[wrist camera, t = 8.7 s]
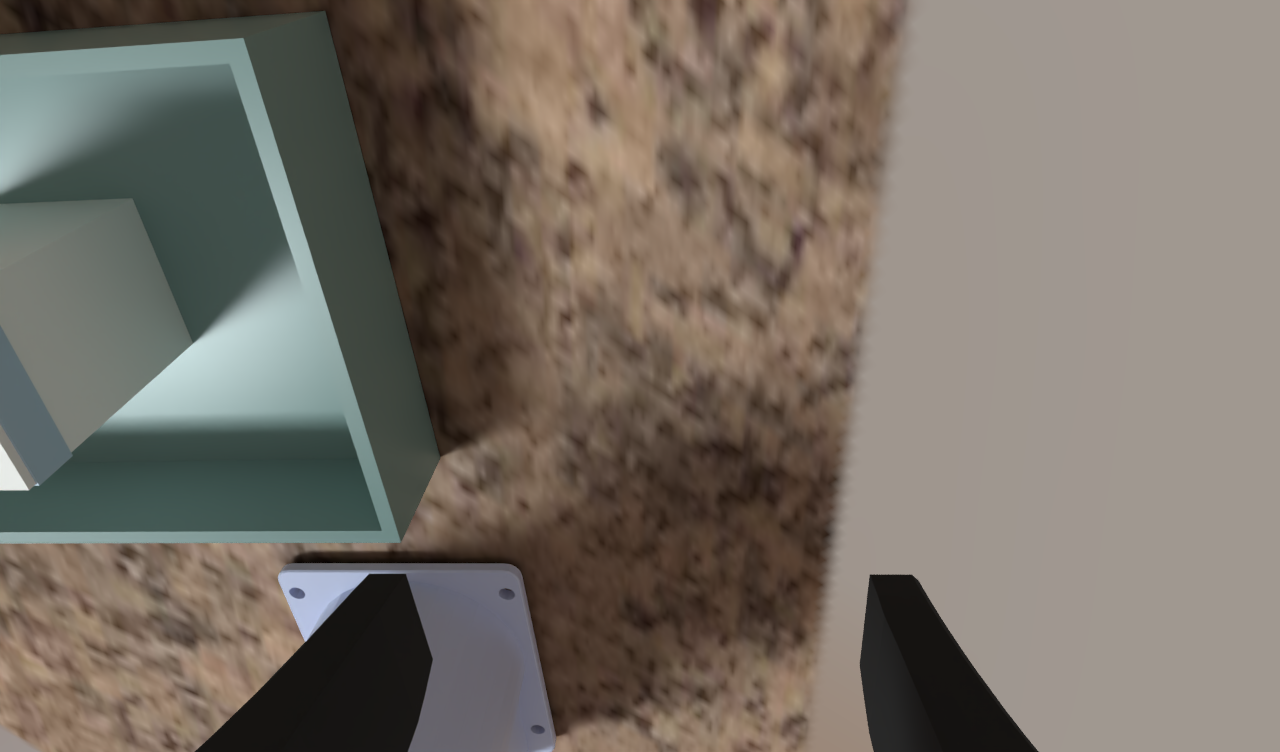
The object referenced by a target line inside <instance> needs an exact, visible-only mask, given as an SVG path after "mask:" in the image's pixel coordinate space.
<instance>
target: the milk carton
mask: <svg viewBox="0 0 1280 752" xmlns="http://www.w3.org/2000/svg"><path fill="white" fill-rule="evenodd" d="M192 344H193V342H192V340H191V337H190V335H189V333H188V330H187V328H186V325H185V323H184V321H183V318H182V316H181V313H180V311H179V309H178V306H177V304H176V301H175V299H174V297H173V294H172V292H171V289H170V287H169V285H168V282H167V280H166V278H165V275H164V273H163V270H162V268H161V266H160V263H159V261H158V258H157V256H156V254H155V251H154V249H153V246H152V244H151V242H150V239H149V237H148V234H147V232H146V230H145V227H144V225H143V222H142V220H141V218H140V215H139V213H138V211H137V208H136V206H135V203H134V201H133V199H132V198H125V199H102V200H79V201H56V202H33V203H11V204H0V490H30V489H31V488H32V487H33V486H40V485H41V484H42V483H43V482H44V481H45V480H47V479H48V478H49V477H50V476H51V475H52V474H53V473H54V472H55V471H57V470H58V469H59V468H60V467H61V466H62V465H63V464H64V463H65V462H67V461H68V460H69V459H70V458H71V457H72V456H73V455H72V453H71V452H72V451H74V450H75V449H76V448H77V447H78V446H79V445H80V444H81V443H83V442H84V441H85V440H86V439H87V438H88V437H89V436H90V435H91V434H93V433H94V432H95V431H96V430H97V429H98V428H99V427H100V426H102V425H103V424H104V423H105V422H106V421H107V420H108V419H109V418H110V417H112V416H113V415H114V414H115V413H116V412H117V411H118V410H119V409H121V408H122V407H123V406H124V405H125V404H126V403H127V402H128V401H129V400H131V399H132V398H133V397H134V396H135V395H136V394H137V393H138V392H140V391H141V390H142V389H143V388H144V387H145V386H146V385H147V384H148V383H150V382H151V381H152V380H153V379H154V378H155V377H156V376H157V375H159V374H160V373H161V372H162V371H163V370H164V369H165V368H166V367H167V366H169V365H170V364H171V363H172V362H173V361H174V360H175V359H176V358H178V357H179V356H180V355H181V354H182V353H183V352H184V351H185V350H187V349H188V348H189V347H190V346H191V345H192Z"/></svg>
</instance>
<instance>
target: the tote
mask: <svg viewBox="0 0 1280 752" xmlns="http://www.w3.org/2000/svg"><path fill="white" fill-rule="evenodd" d="M125 198H132V199H133V201H134V203H135V206H136V208H137V211H138V213H139V215H140V218H141V220H142V222H143V225H144V227H145V230H146V232H147V234H148V237H149V239H150V242H151V244H152V246H153V249H154V251H155V254H156V256H157V258H158V261H159V263H160V266H161V268H162V270H163V273H164V275H165V278H166V280H167V282H168V285H169V287H170V289H171V292H172V294H173V297H174V299H175V301H176V304H177V306H178V309H179V311H180V313H181V316H182V318H183V321H184V323H185V325H186V328H187V330H188V333H189V335H190V337H191V340H192V342H193V344H192V345H191V346H190V347H189V348H188V349H187V350H185V351H184V352H183V353H182V354H181V355H180V356H179V357H178V358H176V359H175V360H174V361H173V362H172V363H171V364H170V365H169V366H167V367H166V368H165V369H164V370H163V371H162V372H161V373H160V374H159V375H157V376H156V377H155V378H154V379H153V380H152V381H151V382H150V383H148V384H147V385H146V386H145V387H144V388H143V389H142V390H141V391H140V392H138V393H137V394H136V395H135V396H134V397H133V398H132V399H131V400H129V401H128V402H127V403H126V404H125V405H124V406H123V407H122V408H121V409H119V410H118V411H117V412H116V413H115V414H114V415H113V416H112V417H110V418H109V419H108V420H107V421H106V422H105V423H104V424H103V425H102V426H100V427H99V428H98V429H97V430H96V431H95V432H94V433H93V434H91V435H90V436H89V437H88V438H87V439H86V440H85V441H84V442H83V443H81V444H80V445H79V446H78V447H77V448H76V449H75V450H74V451H72V452H71V453H72V455H73V456H72V457H71V458H70V459H69V460H68V461H67V462H65V463H64V464H63V465H62V466H61V467H60V468H59V469H58V470H57V471H55V472H54V473H53V474H52V475H51V476H50V477H49V478H48V479H47V480H45V481H44V482H43V483H42V484H41V485H40V486H33V487H32V488H31V489H30V490H0V543H401V541H402V539H403V537H404V535H405V533H406V531H407V529H408V526H409V524H410V522H411V520H412V518H413V516H414V514H415V511H416V509H417V507H418V505H419V503H420V501H421V498H422V496H423V494H424V492H425V490H426V488H427V486H428V483H429V481H430V479H431V477H432V475H433V473H434V471H435V468H436V466H437V464H438V462H439V460H440V455H439V451H438V447H437V443H436V439H435V436H434V432H433V428H432V424H431V420H430V416H429V412H428V408H427V405H426V401H425V397H424V393H423V389H422V385H421V381H420V377H419V373H418V370H417V366H416V362H415V358H414V354H413V350H412V346H411V342H410V339H409V335H408V331H407V327H406V323H405V319H404V315H403V311H402V307H401V304H400V300H399V296H398V292H397V288H396V284H395V280H394V276H393V273H392V269H391V265H390V261H389V257H388V253H387V249H386V245H385V241H384V238H383V234H382V230H381V226H380V222H379V218H378V214H377V210H376V207H375V203H374V199H373V195H372V191H371V187H370V183H369V179H368V175H367V172H366V168H365V164H364V160H363V156H362V152H361V148H360V144H359V141H358V137H357V133H356V129H355V125H354V121H353V117H352V113H351V109H350V106H349V102H348V98H347V94H346V90H345V86H344V82H343V78H342V75H341V71H340V67H339V63H338V59H337V55H336V51H335V47H334V43H333V40H332V36H331V32H330V28H329V24H328V20H327V16H326V12H325V11H316V12H302V13H288V14H275V15H261V16H247V17H233V18H219V19H206V20H192V21H178V22H164V23H151V24H137V25H123V26H109V27H95V28H82V29H68V30H54V31H40V32H27V33H13V34H0V204H11V203H33V202H56V201H79V200H102V199H125Z"/></svg>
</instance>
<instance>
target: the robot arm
mask: <svg viewBox="0 0 1280 752" xmlns="http://www.w3.org/2000/svg"><path fill="white" fill-rule="evenodd" d="M278 581H279V583H280V585H281V588H282V590H283V592H284V595H285V597H286V599H287V601H288V604H289V606H290V608H291V611H292V613H293V615H294V618H295V620H296V622H297V624H298V627H299V629H300V631H301V634H302V636H303V638H304V640H305V643H304V644H303V645H302V646H301V647H300V648H299V649H298V650H297V651H296V652H295V653H294V655H293V656H292V657H291V658H290V659H289V660H288V661H287V662H286V663H285V664H284V665H283V666H282V667H281V668H280V669H279V670H278V671H277V672H276V673H275V674H274V675H273V676H272V677H271V678H270V680H269V681H268V682H267V683H266V684H265V685H264V686H263V687H262V688H261V689H260V690H259V691H258V692H257V693H256V694H255V695H254V696H253V697H252V698H251V699H250V700H249V701H248V702H247V703H246V704H245V705H243V706H242V707H241V708H240V709H239V710H238V711H237V712H236V713H235V714H234V715H233V716H232V717H231V718H230V719H229V720H228V721H227V722H226V723H225V724H224V725H223V726H222V727H221V728H220V729H219V730H218V731H217V732H215V733H214V734H213V735H212V736H211V737H210V738H209V739H208V740H207V741H206V742H205V743H204V744H203V745H202V746H200V747H199V748H198V749H197V750H196V751H195V752H551V751H553V750H554V748H555V743H556V734H555V730H554V725H553V720H552V715H551V711H550V706H549V701H548V696H547V692H546V687H545V682H544V677H543V672H542V668H541V663H540V658H539V653H538V649H537V644H536V639H535V634H534V630H533V625H532V620H531V615H530V611H529V606H528V601H527V596H526V591H525V587H524V582H523V577H522V574H521V572H520V570H519V569H518V568H517V567H515V566H513V565H511V564H505V563H291V564H287V565H285V566H284V567H283V568H282V570H281V572H280V573H279V576H278ZM504 588H507V589H510V590H512V591H510V590H506V589H504ZM860 670H861V677H862V685H863V693H864V700H865V707H866V714H867V721H868V727H869V734H870V738H871V741H872V746H873V750H874V752H1038V751H1037V749H1036V748H1035V747H1034V746H1033V744H1031V742H1030V741H1029V740H1028V738H1027V737H1026V736H1025V735H1024V733H1023V732H1022V731H1021V730H1020V728H1019V727H1018V726H1017V724H1016V723H1015V722H1014V721H1013V719H1012V718H1011V717H1010V715H1009V714H1008V713H1007V712H1006V710H1005V709H1004V708H1003V706H1002V705H1001V704H1000V702H999V701H998V700H997V698H996V697H995V695H994V694H993V693H992V691H991V690H990V689H989V687H988V686H987V684H986V683H985V682H984V680H983V679H982V678H981V676H980V675H979V674H978V672H977V671H976V669H975V668H974V667H973V665H972V664H971V662H970V661H969V660H968V658H967V657H966V655H965V654H964V652H963V651H962V649H961V648H960V646H959V645H958V643H957V642H956V640H955V639H954V637H953V636H952V634H951V633H950V631H949V630H948V628H947V627H946V625H945V624H944V622H943V620H942V619H941V617H940V616H939V614H938V613H937V611H936V609H935V608H934V606H933V605H932V603H931V601H930V600H929V598H928V596H927V595H926V593H925V591H924V590H923V588H922V586H921V584H920V583H919V581H918V580H917V579H916V578H915V577H914V576H913V575H870V578H869V587H868V596H867V605H866V614H865V623H864V632H863V641H862V650H861V659H860Z"/></svg>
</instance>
